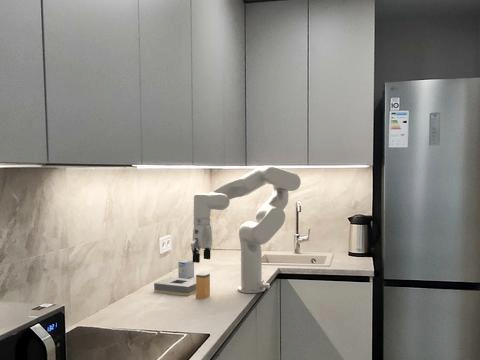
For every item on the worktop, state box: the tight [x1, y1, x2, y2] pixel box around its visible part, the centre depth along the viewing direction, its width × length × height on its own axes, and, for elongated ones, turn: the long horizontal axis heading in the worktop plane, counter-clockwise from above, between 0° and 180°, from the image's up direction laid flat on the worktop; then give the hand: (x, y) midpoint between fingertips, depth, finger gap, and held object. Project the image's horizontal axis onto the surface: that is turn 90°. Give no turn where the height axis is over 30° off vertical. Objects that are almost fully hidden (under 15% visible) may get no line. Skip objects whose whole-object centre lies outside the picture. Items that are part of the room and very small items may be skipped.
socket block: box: [153, 276, 196, 296], centre depth 224 cm, size 18×14×4 cm
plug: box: [195, 272, 211, 299], centre depth 212 cm, size 4×4×10 cm
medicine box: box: [177, 259, 195, 279], centre depth 252 cm, size 8×4×9 cm, turn 149°
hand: (201, 260), depth 212 cm, fingers open, 9 cm apart
